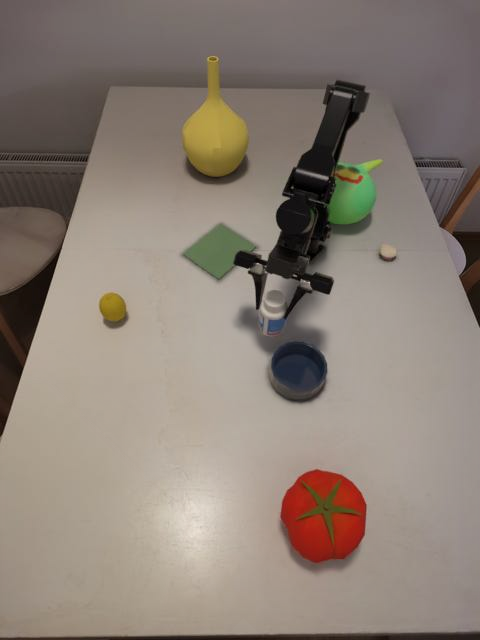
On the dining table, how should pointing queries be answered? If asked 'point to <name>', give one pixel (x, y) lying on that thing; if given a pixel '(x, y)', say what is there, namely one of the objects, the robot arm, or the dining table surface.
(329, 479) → the tomato
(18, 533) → the dining table surface
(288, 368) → the shallow round bowl
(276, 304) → the pill bottle
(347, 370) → the dining table surface
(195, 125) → the vase
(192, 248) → the towel
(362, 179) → the toy bird
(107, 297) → the lemon
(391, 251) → the macaroon
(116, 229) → the dining table surface
